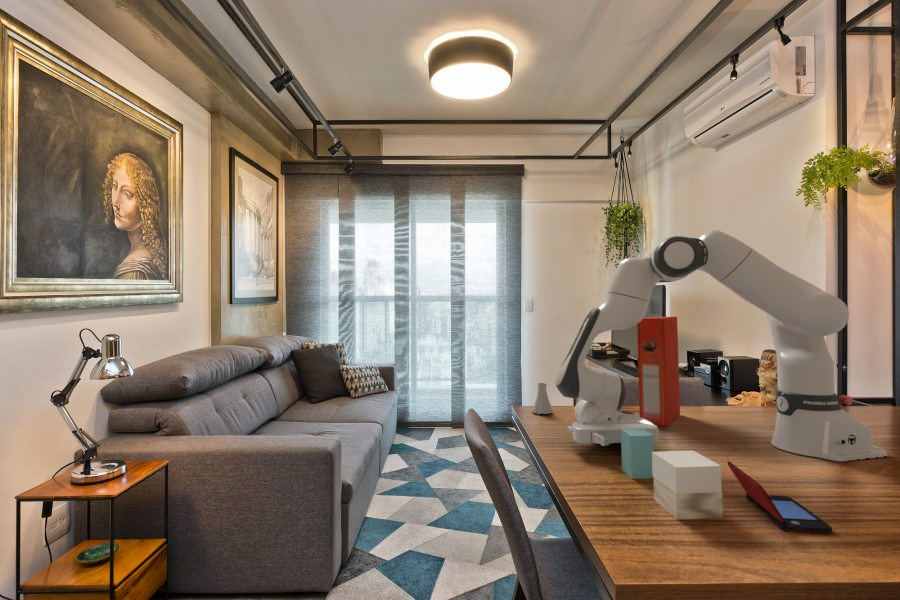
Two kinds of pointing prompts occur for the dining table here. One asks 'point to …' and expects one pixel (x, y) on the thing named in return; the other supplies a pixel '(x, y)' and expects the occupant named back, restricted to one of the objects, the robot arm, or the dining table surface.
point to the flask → (542, 400)
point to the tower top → (686, 472)
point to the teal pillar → (637, 453)
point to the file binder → (658, 370)
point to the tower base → (689, 503)
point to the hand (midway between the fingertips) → (626, 442)
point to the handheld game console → (780, 507)
